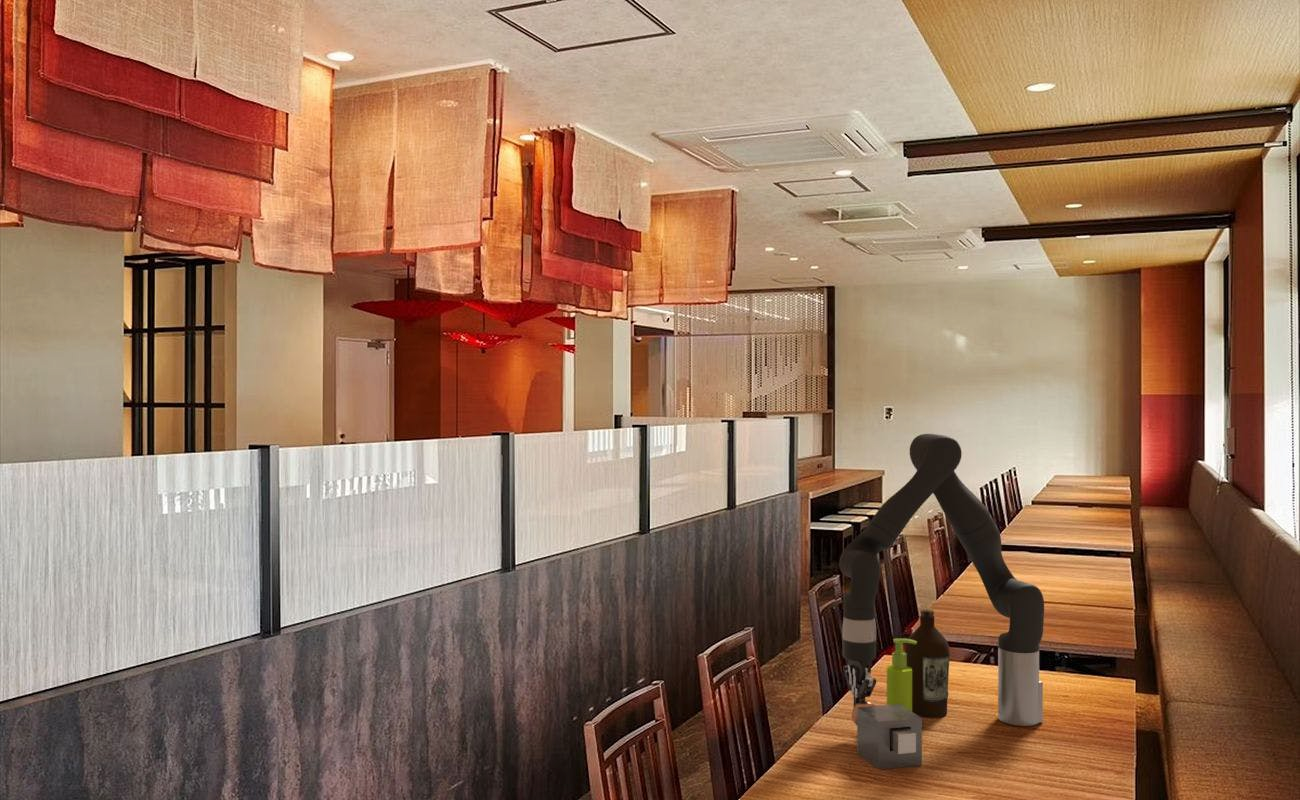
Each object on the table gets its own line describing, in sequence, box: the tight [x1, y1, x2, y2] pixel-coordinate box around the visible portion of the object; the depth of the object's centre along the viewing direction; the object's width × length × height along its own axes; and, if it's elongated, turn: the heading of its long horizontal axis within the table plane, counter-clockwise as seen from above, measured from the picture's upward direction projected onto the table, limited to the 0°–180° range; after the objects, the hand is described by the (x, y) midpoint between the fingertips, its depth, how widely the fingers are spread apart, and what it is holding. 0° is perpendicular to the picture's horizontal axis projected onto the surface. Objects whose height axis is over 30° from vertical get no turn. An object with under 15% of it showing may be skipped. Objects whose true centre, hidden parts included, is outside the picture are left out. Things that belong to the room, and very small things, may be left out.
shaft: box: [851, 700, 916, 754], centre depth 224 cm, size 6×20×6 cm, turn 14°
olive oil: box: [904, 609, 951, 719], centre depth 255 cm, size 11×11×25 cm
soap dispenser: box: [886, 637, 917, 712], centre depth 246 cm, size 6×7×20 cm
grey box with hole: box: [856, 704, 923, 771], centre depth 222 cm, size 10×10×10 cm
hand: (859, 712), depth 237 cm, fingers closed
